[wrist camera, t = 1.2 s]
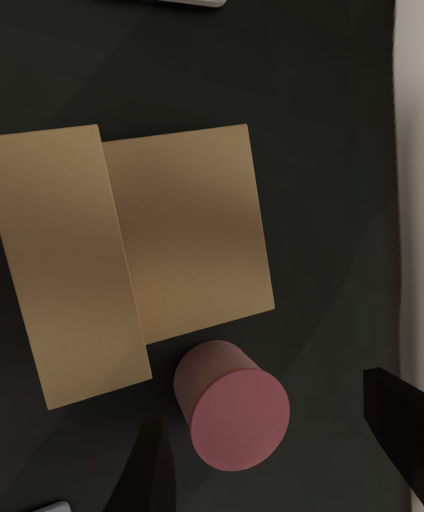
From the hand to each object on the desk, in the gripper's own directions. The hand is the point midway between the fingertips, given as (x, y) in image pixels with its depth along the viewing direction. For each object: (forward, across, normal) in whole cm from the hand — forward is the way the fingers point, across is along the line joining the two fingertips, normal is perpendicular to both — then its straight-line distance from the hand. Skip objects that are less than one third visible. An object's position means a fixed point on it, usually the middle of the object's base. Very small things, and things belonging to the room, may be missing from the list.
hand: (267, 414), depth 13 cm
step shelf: (+10, +4, -4) cm, 11 cm away
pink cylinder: (+8, +2, +5) cm, 10 cm away
